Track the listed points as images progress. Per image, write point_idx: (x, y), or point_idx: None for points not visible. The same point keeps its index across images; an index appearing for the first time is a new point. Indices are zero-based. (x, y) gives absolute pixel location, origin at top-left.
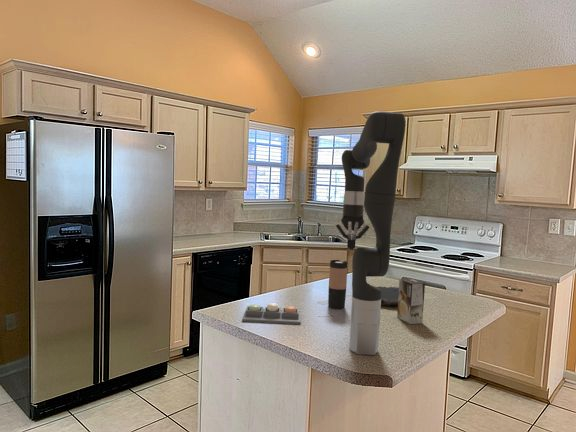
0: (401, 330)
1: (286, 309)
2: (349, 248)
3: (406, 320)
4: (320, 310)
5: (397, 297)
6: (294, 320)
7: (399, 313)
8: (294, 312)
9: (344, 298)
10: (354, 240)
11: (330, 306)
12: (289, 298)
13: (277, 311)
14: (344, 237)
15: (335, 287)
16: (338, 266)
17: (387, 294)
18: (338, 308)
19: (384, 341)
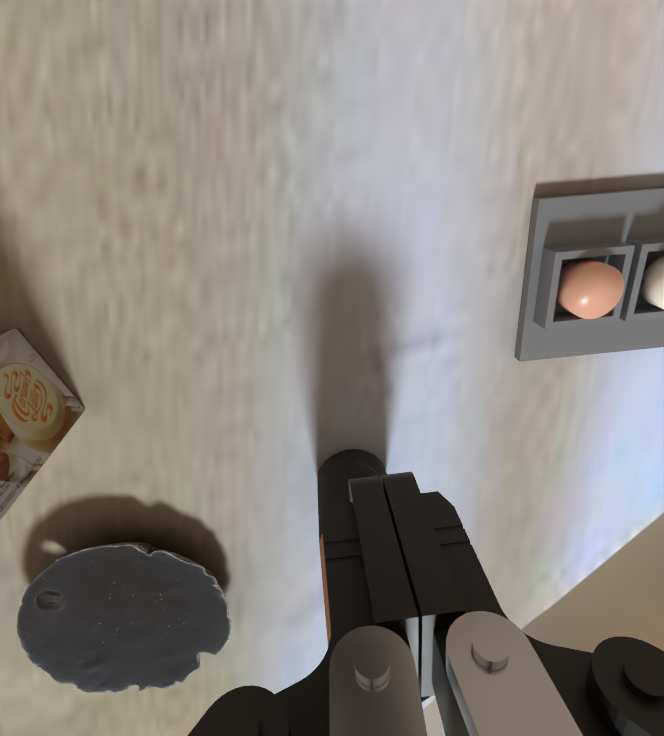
0: (50, 224)
1: (617, 271)
2: (414, 482)
3: (31, 353)
4: (422, 416)
5: (81, 584)
6: (566, 213)
7: (63, 406)
8: (571, 271)
9: (323, 494)
10: (355, 630)
11: (378, 461)
12: (532, 527)
13: (648, 270)
14: (634, 643)
15: None
16: None
17: (129, 612)
18: (344, 452)
19: (125, 12)
